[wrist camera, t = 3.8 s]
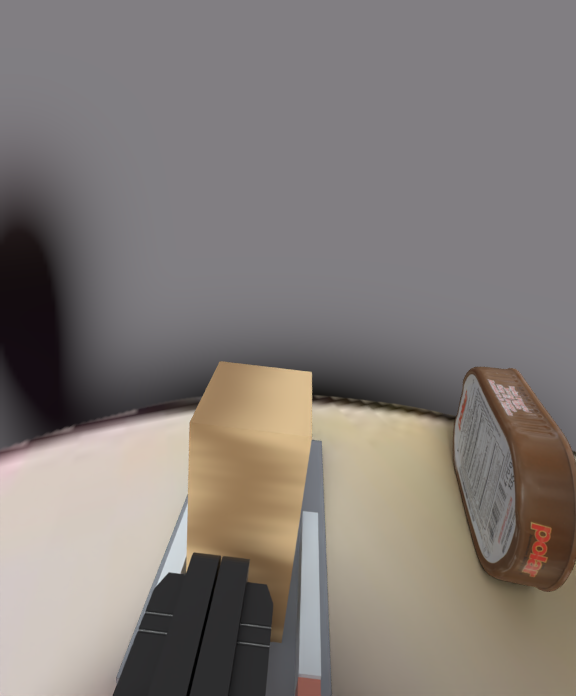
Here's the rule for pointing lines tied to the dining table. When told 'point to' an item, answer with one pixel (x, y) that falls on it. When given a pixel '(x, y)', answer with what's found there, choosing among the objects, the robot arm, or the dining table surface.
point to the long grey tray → (303, 600)
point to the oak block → (251, 472)
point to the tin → (515, 480)
